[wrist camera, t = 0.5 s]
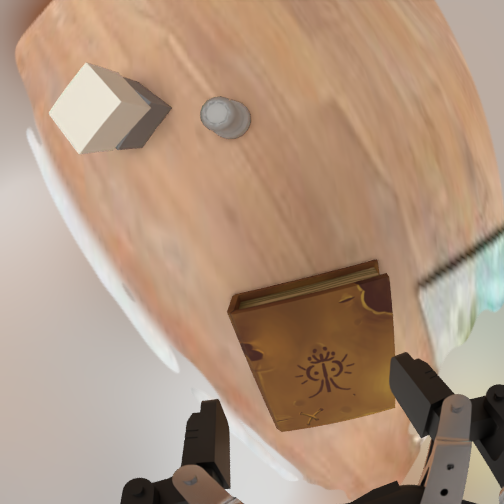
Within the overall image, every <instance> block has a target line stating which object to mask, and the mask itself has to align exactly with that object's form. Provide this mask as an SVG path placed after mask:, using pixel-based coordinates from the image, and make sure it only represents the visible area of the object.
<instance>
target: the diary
mask: <svg viewBox="0 0 504 504" xmlns="http://www.w3.org/2000/svg"><path fill="white" fill-rule="evenodd" d="M227 313H228V315H229V318H230V320H231V323H232V325H233V328H234V330H235V333H236V335H237V337H238V340H239V342H240V345H241V347H242V350H243V352H244V354H245V357H246V359H247V362H248V364H249V366H250V369H251V371H252V373H253V376H254V378H255V380H256V383H257V385H258V387H259V390H260V392H261V394H262V397H263V399H264V401H265V403H266V406H267V408H268V410H269V412H270V415H271V417H272V419H273V421H274V423H275V426H276V428H277V429H278V430H280V431H281V432H284V431H292V430H298V429H305V428H311V427H316V426H322V425H327V424H332V423H337V422H341V421H346V420H350V419H355V418H359V417H363V416H367V415H371V414H374V413H378V412H382V411H385V410H389V409H392V408H395V396H394V395H393V393H392V392H391V389H390V385H389V375H390V362H391V358H392V357H394V356H395V344H394V326H393V312H392V300H391V290H390V281H389V276H388V274H387V273H386V274H382V275H379V267H378V261H377V259H376V260H372V261H369V262H365V263H361V264H358V265H354V266H350V267H346V268H342V269H338V270H335V271H331V272H327V273H323V274H319V275H315V276H311V277H307V278H303V279H299V280H295V281H291V282H287V283H282V284H278V285H274V286H270V287H266V288H261V289H257V290H253V291H248V292H244V293H240V294H235V295H234V296H232V299H231V302H230V305H229V308H228V311H227Z"/></svg>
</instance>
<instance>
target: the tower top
mask: <svg viewBox="0 0 504 504" xmlns="http://www.w3.org/2000/svg"><path fill="white" fill-rule="evenodd" d="M150 109H151V107H150V106H149V105H148V104H147V103H146V102H145V101H144V100H143V99H142V98H141V96H140V95H139V94H138V93H137V92H136V91H135V90H134V89H133V88H132V87H131V86H130V85H129V83H128V82H127V81H126V80H125V79H124V78H123V77H122V76H121V75H120V74H119V73H118V72H115V71H112V70H109V69H106V68H103V67H100V66H97V65H94V64H90V63H87V62H86V63H85V64H84V66H83V67H82V68H81V69H80V71H79V72H78V73H77V74H76V76H75V77H74V78H73V79H72V81H71V82H70V83H69V85H68V86H67V87H66V89H65V90H64V92H63V93H62V94H61V96H60V97H59V99H58V100H57V101H56V103H55V104H54V106H53V107H52V109H51V110H50V112H49V115H50V116H51V117H52V119H53V120H54V122H55V123H56V124H57V126H58V127H59V128H60V130H61V131H62V132H63V134H64V135H65V136H66V138H67V139H68V140H69V142H70V143H71V144H72V146H73V147H74V148H75V150H76V151H77V152H78V153H79V154H87V153H95V152H104V151H113V150H114V149H115V148H116V146H117V145H118V144H119V143H120V142H121V141H122V139H123V138H124V137H125V136H126V135H127V134H128V132H129V131H130V130H131V129H132V128H133V127H134V126H135V125H136V124H137V123H138V121H139V120H140V119H141V118H142V117H143V116H144V115H145V114H146V113H147V112H148V111H149V110H150Z"/></svg>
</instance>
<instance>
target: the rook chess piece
mask: <svg viewBox="0 0 504 504" xmlns="http://www.w3.org/2000/svg"><path fill="white" fill-rule="evenodd" d="M200 116H201V121H202V123H203V125H204V126H205V127H207V128H208V129H209V130H212V131H214V132H215V133H216V134H217V135H218V136H220V137H223V138H226V139H235V138H237V137H240V136H242V135H243V134H244V133H245V132H246V131H247V130H248V128H249V125H250V122H251V120H250V113H249V111H248V109H247V107H246V106H244V105H243V104H242V103H240V102H237V101H234V100H229V99H228V98H224V97H221V96H220V97H213V98H211V99H209V100H207V101H206V103H205V104H204V105H203V106H202V109H201V112H200Z"/></svg>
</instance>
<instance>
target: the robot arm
mask: <svg viewBox="0 0 504 504" xmlns="http://www.w3.org/2000/svg"><path fill="white" fill-rule="evenodd" d="M389 385H390V389H391V392H392V393H393V395H394V396H395V398H396V399H397V401H398V403H399V404H400V406H401V407H402V409H403V410H404V412H405V413H406V415H407V417H408V418H409V420H410V421H411V423H412V424H413V426H414V428H415V429H416V431H417V432H418V434H419V435H420V437H421V438H423V437H425V436H427V435H430V437H431V441H430V445H429V449H428V453H427V457H426V461H425V465H424V468H423V472H422V475H421V478H420V480H419V483H418V485H401V486H399V484H398V482H397V481H394V482H392V483H389V484H387V485H384V486H382V487H379V488H376V489H373V490H372V491H370V492H368V493H367V494H365V495H363V496H361V497H360V498H358V499H356V500H354V501H353V502H351V503H347V504H476V503H472V502H469V501H465V500H462V498H463V494H464V489H465V484H466V479H467V473H468V468H469V461H470V454H471V445H472V441H473V442H474V444H475V445H476V446H477V448H478V450H479V452H480V453H481V455H482V456H483V458H484V459H485V461H486V463H487V465H488V466H489V468H490V469H491V471H492V473H493V474H494V476H495V478H496V480H497V481H498V483H499V484H500V486H501V488H502V490H501V491H500V494H499V501H500V503H499V504H504V385H500V384H499V385H494V386H492V387H490V388H489V389H488V391H487V393H486V396H483V397H478V398H474V399H469V398H468V397H466V396H464V395H461V394H454V393H453V392H452V391H451V390H450V389H449V387H448V386H447V385H446V384H445V383H444V382H443V380H442V379H441V378H440V377H439V376H437V374H436V372H435V371H433V369H432V368H431V367H430V366H429V365H428V363H426V362H424V361H422V360H420V359H416V360H414V359H413V358H412V357H411V356H410V355H409V354H408V353H407V352H405V353H402V354H399V355H397V356H394V357H392V358H391V362H390V375H389ZM229 441H230V438H229V426H228V422H227V419H226V416H225V414H224V411H223V409H222V406H221V404H220V401H219V400H218V399H215V400H207V401H202V402H201V410H200V413H192V415H191V416H190V418H189V419H188V421H187V425H186V433H185V440H184V448H183V456H182V463H181V467H180V468H179V469H177V470H176V471H175V473H174V474H173V476H172V477H170V478H168V479H165V480H161V481H158V482H154V483H151V482H150V481H149V480H147V479H145V478H136V479H132V480H130V481H129V482H127V484H126V485H125V486H124V488H123V492H122V497H121V503H120V504H244V503H242V502H241V501H240V500H239V499H237V498H236V497H235V498H234V497H232V496H231V495H230V494H229V493H228V492H227V491H226V490H225V489H230V442H229Z"/></svg>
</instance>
